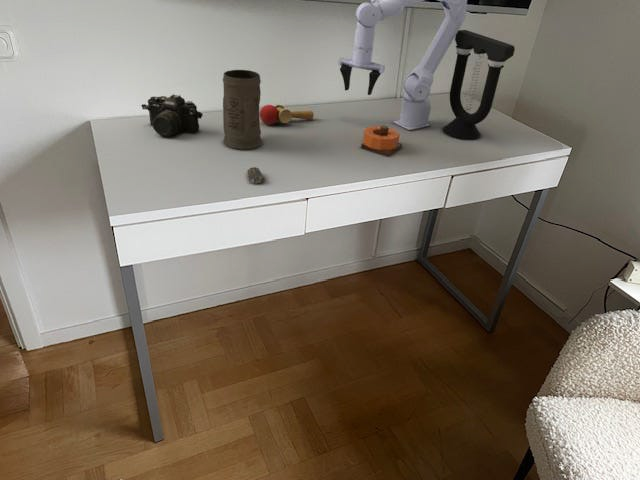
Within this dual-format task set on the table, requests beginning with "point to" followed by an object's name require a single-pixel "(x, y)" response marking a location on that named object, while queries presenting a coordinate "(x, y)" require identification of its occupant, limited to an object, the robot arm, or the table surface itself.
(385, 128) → the stand
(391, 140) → the ring
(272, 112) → the kendama
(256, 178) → the block
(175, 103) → the film camera
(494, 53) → the spring support
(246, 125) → the beer stein
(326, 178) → the table surface
